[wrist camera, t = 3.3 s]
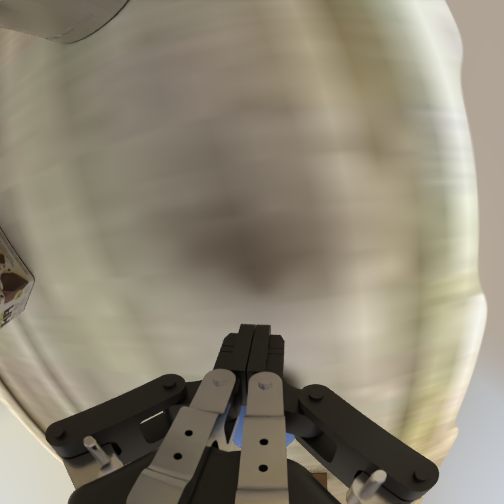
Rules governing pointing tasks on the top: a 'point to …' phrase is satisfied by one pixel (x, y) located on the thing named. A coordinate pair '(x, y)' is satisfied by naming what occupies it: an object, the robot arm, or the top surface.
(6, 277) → the coffee box
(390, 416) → the top surface
